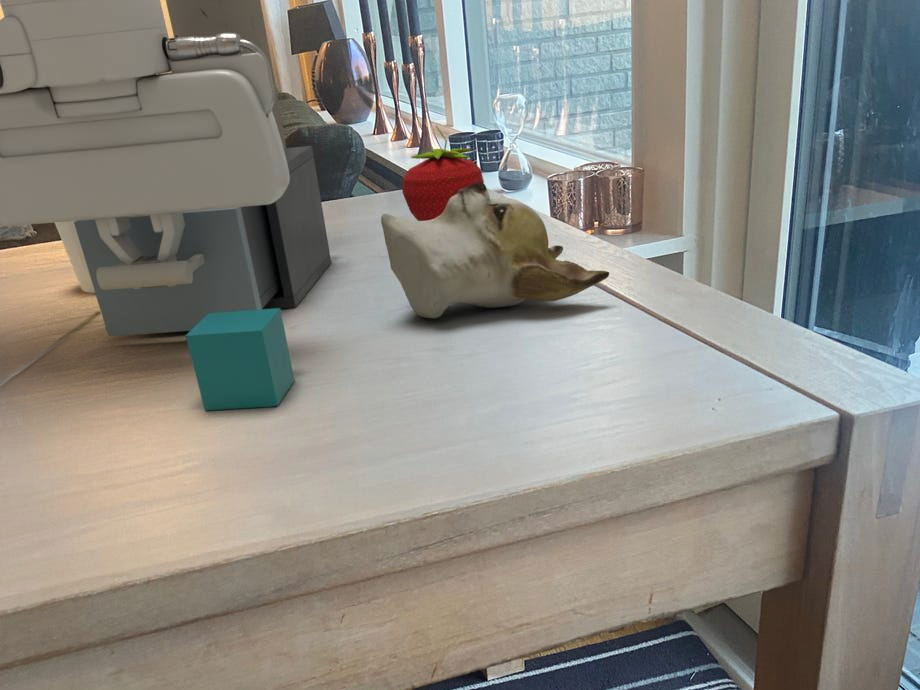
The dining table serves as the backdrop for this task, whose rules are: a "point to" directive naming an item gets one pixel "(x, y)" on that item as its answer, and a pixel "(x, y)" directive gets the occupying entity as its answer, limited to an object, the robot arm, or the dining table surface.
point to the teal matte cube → (241, 359)
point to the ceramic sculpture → (480, 256)
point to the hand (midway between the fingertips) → (157, 285)
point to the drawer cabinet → (298, 231)
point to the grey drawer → (184, 271)
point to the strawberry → (438, 181)
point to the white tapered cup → (75, 254)
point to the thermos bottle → (225, 28)
